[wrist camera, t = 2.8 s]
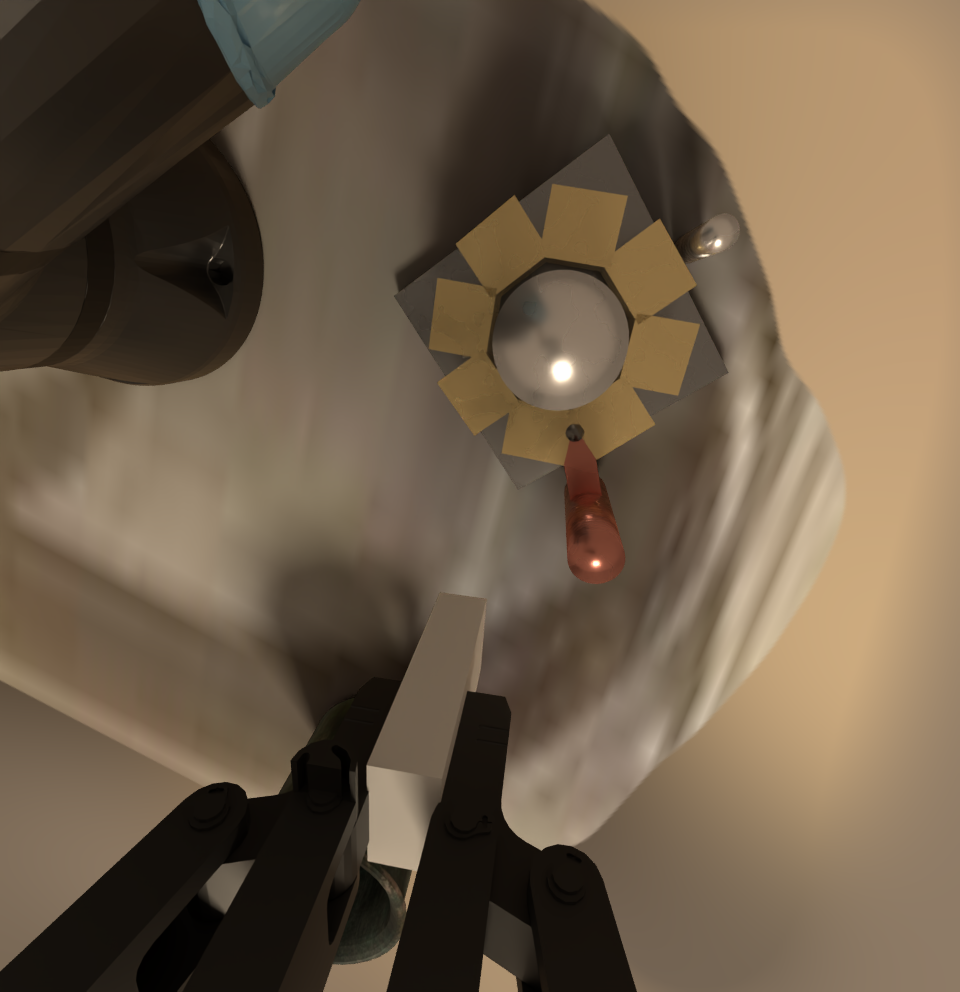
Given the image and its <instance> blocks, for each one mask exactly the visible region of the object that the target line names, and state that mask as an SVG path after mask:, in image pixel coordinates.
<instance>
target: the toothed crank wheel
mask: <svg viewBox="0 0 960 992" xmlns="http://www.w3.org/2000/svg"><path fill="white" fill-rule="evenodd" d="M627 198H628V196H625V195H619V194H613V193H607V192H600V191H594V190H588V189H582V188H575V187H569V186H563V185H557V184H552V188H551V194H550V199H549V204H548V210H547V215H546V220H545V225H544V231H543V236H542V239H541V237H540V236H539V234H538V232H537V231H536V229H535V228H534V226H533V224H532V223H531V221H530V219H529V218H528V216H527V215H526V213H525V211H524V210H523V208H522V206H521V205H520V203H519V201H518V200H517V198H516V197H515V195H514V196H513V197H511V198H510V199H509V200H508V201H507V202H505V203H504V204H503V205H502V206H501V207H499V208H498V209H497V210H496V211H495V212H493V213H492V214H491V215H490V216H489V217H487V218H486V219H485V220H484V221H483V222H481V223H480V224H479V225H478V226H477V227H475V228H474V229H473V230H472V231H471V232H469V233H468V234H467V235H466V236H465V237H463V238H462V239H461V240H460V241H459V242H457V243H456V246H457V247H458V249H459V250H460V252H461V253H462V255H463V256H464V258H465V259H466V261H467V262H468V264H469V265H470V267H471V269H472V270H473V272H474V273H475V275H476V276H477V278H478V279H479V281H480V282H481V284H482V285H483V286H481V285H475V284H469V283H464V282H458V281H452V280H447V279H441V278H437V286H436V294H435V302H434V310H433V318H432V326H431V334H430V342H429V349H431V350H437V351H442V352H447V353H453V354H458V355H463V356H469V357H471V358H470V359H468V360H467V361H466V362H464V363H463V364H462V365H460V366H459V367H458V368H456V369H455V370H454V371H452V372H451V373H449V374H448V375H447V376H445V377H444V378H443V379H441V380H440V381H439V382H437V383H438V385H439V386H440V388H441V389H442V390H443V392H444V393H445V395H446V396H447V397H448V399H449V400H450V402H451V403H452V405H453V406H454V407H455V409H456V410H457V412H458V413H459V414H460V416H461V417H462V419H463V420H464V422H465V423H466V424H467V426H468V427H469V429H470V430H471V431H472V433H473V434H474V436H475V435H476V434H478V433H479V432H481V431H482V430H484V429H485V428H486V427H488V426H489V425H491V424H492V423H494V422H495V421H497V420H498V419H500V418H501V417H503V416H504V415H506V414H507V413H509V416H508V421H507V427H506V432H505V437H504V443H503V448H502V453H503V454H508V455H513V456H518V457H523V458H528V459H533V460H538V461H543V462H548V463H553V464H558V465H563V466H564V468H565V473H566V479H567V484H566V486H565V490H564V497H565V518H566V538H567V559H568V565H569V568H570V570H571V571H572V573H573V574H574V575H575V576H576V577H577V578H579V579H580V580H582V581H585V582H588V583H593V584H599V583H605V582H608V581H610V580H612V579H614V578H615V577H616V576H617V575H618V574H619V573H620V572H621V571H622V569H623V567H624V564H625V553H624V549H623V545H622V542H621V539H620V535H619V532H618V528H617V525H616V521H615V518H614V514H613V511H612V507H611V504H610V500H609V497H608V493H607V490H606V486H605V484H604V482H603V481H602V479H601V478H600V477H599V475H598V469H597V462H596V460H597V459H599V458H600V457H602V456H604V455H605V454H607V453H609V452H610V451H612V450H614V449H615V448H617V447H619V446H620V445H622V444H624V443H625V442H627V441H629V440H630V439H632V438H634V437H635V436H637V435H639V434H640V433H642V432H644V431H645V430H647V429H649V428H650V427H652V426H654V425H655V423H654V422H653V420H652V418H651V417H650V415H649V414H648V412H647V410H646V409H645V407H644V405H643V404H642V402H641V400H640V399H639V397H638V396H637V394H636V392H635V391H634V389H633V387H634V388H640V389H645V390H650V391H656V392H661V393H666V394H672V395H677V396H678V394H679V391H680V388H681V385H682V381H683V378H684V375H685V372H686V368H687V365H688V362H689V359H690V356H691V352H692V349H693V346H694V343H695V339H696V336H697V333H698V330H699V326H700V324H696V323H690V322H685V321H679V320H673V319H668V318H662V317H656V316H652V315H654V314H655V313H657V312H658V311H660V310H661V309H663V308H664V307H666V306H667V305H668V304H670V303H671V302H673V301H674V300H676V299H677V298H679V297H680V296H682V295H683V294H685V293H686V292H688V291H689V290H691V289H692V288H694V287H695V286H697V285H696V283H695V281H694V279H693V278H692V276H691V274H690V272H689V270H688V269H687V267H686V265H685V263H684V261H683V259H682V258H681V256H680V254H679V252H678V250H677V249H676V247H675V245H674V243H673V241H672V240H671V238H670V236H669V234H668V232H667V231H666V229H665V227H664V225H663V223H662V222H661V220H660V219H658V220H657V221H656V222H654V223H653V224H652V225H650V226H649V227H648V228H646V229H645V230H644V231H642V232H641V233H639V234H638V235H637V236H635V237H634V238H633V239H631V240H630V241H629V242H627V243H626V244H625V245H623V246H622V247H620V248H619V249H618V250H616V251H615V248H616V244H617V240H618V235H619V231H620V227H621V223H622V219H623V214H624V210H625V206H626V202H627ZM546 262H547V263H553V264H559V265H565V266H570V267H576V268H582V269H588V270H594V271H600V273H601V274H602V276H603V278H604V279H605V281H606V283H607V285H608V286H609V288H610V290H611V291H612V292H613V293H614V294H615V296H616V297H617V299H618V300H619V302H620V303H621V305H622V308H623V310H624V312H625V315H626V316H627V318H628V320H627V323H628V329H629V344H628V351H627V355H626V359H625V362H624V364H623V367H622V369H621V371H620V373H619V375H618V376H617V378H616V379H615V381H614V382H613V384H612V385H611V386H610V387H609V388H608V389H607V390H606V391H605V392H604V393H603V394H602V395H600V396H599V397H598V398H596V399H595V400H593V401H591V402H589V403H587V404H586V405H583V406H580V407H578V408H574V409H569V410H561V411H555V410H546V409H541V408H538V407H535V406H532V405H530V404H528V403H526V402H524V401H523V400H521V399H520V398H518V397H517V396H516V395H515V394H514V393H513V392H512V391H511V390H510V389H509V388H508V387H507V386H506V384H505V383H504V381H503V380H502V378H501V376H500V374H499V372H498V370H497V367H496V364H495V360H494V356H493V350H492V349H493V348H492V341H493V331H494V326H495V323H496V319H497V317H498V313H499V308H500V302H501V296H502V295H504V294H505V293H506V292H508V291H509V290H510V289H512V288H513V287H514V286H516V285H517V284H518V283H519V282H521V281H522V280H523V279H525V278H526V277H527V276H529V275H530V274H531V273H533V272H534V271H535V270H536V269H538V268H539V267H540V266H542V265H543V264H544V263H546Z"/></svg>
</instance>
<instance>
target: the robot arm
mask: <svg viewBox="0 0 960 992" xmlns="http://www.w3.org/2000/svg"><path fill="white" fill-rule="evenodd" d="M359 2H360V0H0V371H9V370H16V369H24V368H34V367H43V366H48V367H53V368H58V369H63V370H68V371H73V372H78V373H83V374H88V375H93V376H99V377H102V378H105V379H109V380H112V381H116V382H120V383H124V384H130V385H140V386H155V385H165V384H170V383H176V382H181V381H187V380H192V379H195V378H199V377H202V376H204V375H207V374H209V373H211V372H213V371H214V370H216V369H218V368H219V367H221V366H222V365H223V364H225V363H226V362H227V361H228V360H229V359H230V358H232V356H233V355H234V354H235V353H236V352H237V351H238V350H239V348H240V347H241V346H242V344H243V343H244V341H245V340H246V338H247V337H248V335H249V333H250V331H251V329H252V327H253V324H254V322H255V319H256V316H257V313H258V310H259V306H260V301H261V296H262V288H263V254H262V246H261V240H260V235H259V230H258V226H257V223H256V219H255V216H254V213H253V210H252V207H251V205H250V202H249V200H248V197H247V195H246V193H245V191H244V189H243V187H242V185H241V183H240V181H239V179H238V177H237V176H236V174H235V172H234V171H233V169H232V168H231V166H230V165H229V163H228V162H227V160H226V159H225V158H224V156H223V155H222V154H221V152H220V151H219V150H218V149H217V148H216V146H215V145H214V144H213V143H212V142H211V141H210V140H209V139H210V138H211V137H212V136H214V135H215V134H216V133H217V132H219V131H220V130H221V129H223V128H224V127H225V126H227V125H228V124H229V123H231V122H232V121H233V120H235V119H236V118H237V117H239V116H240V115H241V114H243V113H244V112H245V111H247V110H248V109H249V108H251V107H252V106H253V105H256V106H257V107H258V108H260V109H261V108H262V107H264V106H265V105H267V104H268V103H269V102H270V101H271V100H272V99H273V98H274V97H275V90H276V86H277V85H278V84H279V83H280V82H281V81H282V80H283V79H284V78H285V77H286V76H287V75H288V74H290V73H291V72H292V71H293V70H294V69H295V68H296V67H297V66H298V65H299V64H300V63H301V62H302V61H303V60H304V59H306V58H307V57H308V56H309V55H310V54H311V53H312V52H313V51H314V50H315V49H316V48H317V47H318V46H319V45H321V44H322V43H323V42H324V41H325V40H326V39H327V38H328V37H329V36H331V35H332V34H333V33H334V32H335V31H336V30H337V29H339V28H340V27H341V26H342V25H343V24H344V23H345V22H346V21H347V20H348V19H349V18H350V16H351V15H352V14H353V12H354V11H355V9H356V7H357V6H358V4H359ZM486 601H487V599H484V598H476V597H469V596H462V595H455V594H448V593H441V592H440V593H439V596H438V598H437V600H436V603H435V605H434V607H433V610H432V612H431V615H430V617H429V619H428V622H427V624H426V626H425V629H424V631H423V633H422V636H421V638H420V640H419V643H418V645H417V648H416V650H415V652H414V655H413V657H412V659H411V662H410V664H409V666H408V669H407V671H406V673H405V676H404V678H403V681H402V682H401V681H395V680H389V679H382V678H376V677H373V678H372V679H371V680H370V681H369V682H368V683H366V684H365V685H364V686H363V687H362V688H360V689H359V691H358V693H357V695H356V697H355V698H354V700H353V702H352V704H351V708H349V710H348V712H347V714H346V715H345V717H344V721H342V723H341V725H340V727H339V729H338V731H337V732H336V734H335V736H334V738H333V740H325V739H324V740H320V741H317V742H313V743H310V744H309V745H307V746H306V747H304V748H302V749H301V750H299V751H298V752H297V754H296V755H295V756H294V757H293V758H292V759H291V771H292V784H293V790H291V791H289V792H286V793H283V794H278V795H273V796H265V797H257V798H249V799H247V796H246V792H245V791H244V790H243V789H242V788H241V787H240V786H239V785H237V784H232V783H228V782H222V783H214V784H211V785H208V786H206V787H203V788H201V789H198V790H197V791H196V792H194V793H193V794H191V795H190V796H189V797H187V798H186V799H185V800H184V801H183V802H181V803H180V804H179V805H178V806H177V807H176V808H175V809H174V810H173V811H172V812H171V813H170V814H169V815H167V816H166V817H165V818H164V819H163V820H162V821H161V822H160V823H159V824H158V825H157V826H156V827H155V828H154V829H153V830H151V831H150V832H149V833H148V834H147V835H146V836H145V837H144V838H143V839H142V840H141V841H140V842H139V843H138V844H136V845H135V846H134V847H133V848H132V849H131V850H130V851H129V852H128V853H127V854H126V855H125V856H124V857H122V858H121V859H120V861H118V862H117V863H116V864H115V865H114V866H113V867H112V868H111V869H110V870H109V871H107V872H106V873H105V874H104V875H103V876H102V877H101V878H100V879H99V880H98V881H97V882H96V883H95V884H94V885H93V886H91V887H90V888H89V889H88V890H87V891H86V892H85V893H84V894H83V895H82V896H81V897H80V898H78V899H77V900H76V901H75V902H74V903H73V904H72V905H71V906H70V907H69V908H68V909H67V910H66V911H65V912H63V914H62V915H60V916H59V917H58V918H57V919H56V920H55V921H54V922H53V923H52V924H51V925H50V926H49V927H47V928H46V929H45V930H44V931H43V932H42V933H41V934H40V935H39V936H38V937H37V938H36V939H35V940H33V941H32V942H31V943H30V944H29V945H28V946H27V947H26V948H25V949H24V950H23V951H22V952H21V953H20V954H18V956H16V957H15V958H14V959H13V960H12V961H11V962H10V963H9V964H8V965H7V966H6V967H5V968H3V969H2V970H1V971H0V992H323V990H324V987H325V984H326V981H327V978H328V975H329V972H330V969H331V967H332V964H333V961H334V958H335V955H336V952H337V949H338V946H339V944H340V941H341V938H342V935H343V932H344V929H345V926H346V923H347V920H348V917H349V915H350V912H351V909H352V906H353V903H354V900H355V897H356V894H357V891H358V886H359V879H360V870H359V868H360V865H361V863H362V860H363V857H364V854H365V851H366V849H367V855H368V861H370V862H375V863H379V864H384V865H389V866H394V867H399V868H404V869H409V870H414V871H417V874H416V878H415V882H414V886H413V890H412V894H411V897H410V901H409V905H408V909H407V913H406V917H405V921H404V925H403V929H402V933H401V937H400V941H399V945H398V949H397V952H396V956H395V960H394V964H393V968H392V973H391V976H390V981H389V984H388V988H387V992H479V986H480V977H481V969H482V960H483V954H484V955H486V956H487V957H488V958H490V959H491V960H493V961H494V962H496V963H497V964H499V965H500V966H502V967H503V968H505V969H506V970H508V971H509V972H510V973H512V974H513V975H515V976H516V979H517V987H518V992H637V991H636V987H635V984H634V981H633V978H632V974H631V971H630V968H629V964H628V961H627V958H626V954H625V951H624V948H623V944H622V941H621V938H620V935H619V931H618V928H617V924H616V921H615V918H614V915H613V911H612V908H611V905H610V901H609V898H608V895H607V892H606V888H605V885H604V881H603V879H602V877H601V875H600V872H599V870H598V869H597V866H596V865H595V864H594V863H593V861H592V860H591V859H590V858H589V857H588V856H587V855H586V854H585V853H583V852H581V851H579V850H578V849H576V848H574V847H572V846H566V845H560V844H557V845H553V846H549V847H546V848H544V849H543V850H542V851H541V850H539V849H538V848H536V847H534V846H532V845H530V844H529V843H527V842H525V841H524V840H522V839H521V838H520V837H518V836H517V835H516V834H515V833H514V832H513V831H512V830H511V829H510V828H509V826H508V824H507V822H506V821H505V819H504V816H503V812H502V809H501V798H502V789H503V780H504V772H505V763H506V754H507V746H508V737H509V729H510V720H511V711H510V708H509V706H508V703H507V701H506V698H505V697H503V696H496V695H490V694H484V693H478V692H476V689H477V684H478V679H479V675H480V670H481V659H482V647H483V636H484V624H485V613H486Z"/></svg>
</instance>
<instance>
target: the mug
mask: <svg viewBox="0 0 960 992" xmlns="http://www.w3.org/2000/svg"><path fill="white" fill-rule="evenodd" d="M353 700H354V698H352V699H349V700H346V701H344V702H341V703H339V704H337V705H336V706H334V707H332V708H331V709H330V710H329V711H328V712H327V713H326V714H325V715H324V716H323V718H322V719H321V721H320V722H319V724H318V726H317V728H316V729H315V731H314V733H313V735H312V736H311V738H310V740H309V742H308V743H307V745H309V744H310V743H313V742H317V741H320V740H324V739H325V740H333V738H334V736H335V734H336V732H337V731H338V729H339V727H340V725H341V723H342V721H344V717H345V715H346V714H347V712H348V710H349V708H351V704H352V702H353ZM307 745H306V746H307ZM291 790H293V784H292V771H291V773H290V775H289V776H288V778H287V780H286V782H285V783H284V785H283V787H282V789H281V790H280V792H279V794H283V793H286V792H289V791H291ZM359 870H360V879H359V886H358V891H357V894H356V897H355V900H354V903H353V906H352V909H351V912H350V915H349V917H348V920H347V923H346V926H345V929H344V932H343V935H342V938H341V941H340V944H339V946H338V949H337V952H336V955H335V958H334V961H333V964H341V965H343V964H355V963H360V962H365V961H369V960H372V959H375V958H378V957H380V956H381V955H383V954H385V953H387V952H388V951H389V950H390V949H392V948H393V947H394V946H395V945H396V943H397V942H398V941H399V939H400V937H401V933H402V929H403V925H404V921H405V917H406V904H405V901H404V900H405V896H406V892H407V888H408V883H409V880H410V876H411V872H412V870H409V869H404V868H399V867H394V866H389V865H384V864H379V863H375V862H370V861H368V855H367V849H366V851H365V854H364V857H363V860H362V863H361V865H360V868H359Z"/></svg>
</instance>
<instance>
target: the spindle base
mask: <svg viewBox="0 0 960 992" xmlns="http://www.w3.org/2000/svg"><path fill="white" fill-rule="evenodd" d="M552 184H557V185H563V186H569V187H575V188H582V189H588V190H594V191H600V192H607V193H613V194H619V195H625V196H628V198H627V202H626V206H625V210H624V214H623V219H622V223H621V227H620V231H619V235H618V240H617V244H616V248H615V251H616V250H618V249H619V248H620V247H622V246H623V245H625V244H626V243H627V242H629V241H630V240H631V239H633V238H634V237H635V236H637V235H638V234H639V233H641V232H642V231H644V230H645V229H646V228H648V227H649V226H650V225H652V224H653V223H654V222H653V220H652V218H651V216H650V214H649V212H648V210H647V208H646V206H645V204H644V202H643V200H642V198H641V196H640V194H639V192H638V190H637V188H636V186H635V184H634V182H633V180H632V178H631V176H630V174H629V172H628V170H627V168H626V166H625V164H624V162H623V160H622V158H621V156H620V154H619V152H618V150H617V148H616V146H615V144H614V142H613V140H612V138H611V136H610V134H608V135H607V136H605V137H604V138H603V139H601V140H600V141H599V142H597V143H596V144H595V145H593V146H592V147H591V148H589V149H588V150H587V151H585V152H584V153H583V154H581V155H580V156H579V157H578V158H576V159H575V160H574V161H572V162H571V163H570V164H568V165H567V166H566V167H564V168H563V169H562V170H560V171H559V172H558V173H556V174H555V175H554V176H552V177H551V178H550V179H548V180H547V181H546V182H544V183H543V184H542V185H540V186H539V187H538V188H536V189H535V190H534V191H532V192H531V193H530V194H529V195H527V196H526V197H525V198H523V199H522V200H521V201H519V203H520V205H521V206H522V208H523V210H524V211H525V213H526V215H527V216H528V218H529V219H530V221H531V223H532V224H533V226H534V228H535V229H536V231H537V232H538V234H539V236H540V237H541V239H542V236H543V231H544V225H545V220H546V215H547V210H548V204H549V199H550V194H551V188H552ZM739 233H740V226H739V223H738V221H737V219H736V218H735V217H734V216H732V215H730V214H726V213H725V214H719V215H716V216H715V217H713V218H711V219H710V220H708V221H706V222H705V223H703V224H701V225H700V226H698V227H696V228H695V229H693V230H691V231H690V232H688V233H686V234H685V235H683V236H681V237H680V238H679V239H678V240H677V242H676V244H675V247H676V249H677V250H678V252H679V254H680V256H681V258H682V259H683V261H684V263H685V264H688V263H692V262H695V261H697V260H700V259H703V258H706V257H708V256H711V255H714V254H717V253H719V252H722V251H725V250H727V249H729V248H730V247H732V246H733V245H734V244H735V242H736V241H737V239H738V237H739ZM437 278H441V279H447V280H452V281H458V282H464V283H469V284H475V285H481V286H483V285H482V284H481V282H480V281H479V279H478V278H477V276H476V275H475V273H474V272H473V270H472V269H471V267H470V265H469V264H468V262H467V261H466V259H465V258H464V256H463V255H462V253H461V252H460V250H459V249H458V248H457V249H456V250H454V251H453V252H452V253H450V254H449V255H448V256H446V257H445V258H444V259H442V260H441V261H440V262H438V263H437V264H436V265H435V266H433V267H432V268H431V269H429V270H428V271H427V272H425V273H424V274H423V275H421V276H420V277H419V278H417V279H416V280H415V281H413V282H412V283H411V284H409V285H408V286H407V287H405V288H404V289H403V290H401V291H400V292H399V293H397V294H396V295H395V296H394V297H395V298H396V300H397V301H398V303H399V305H400V306H401V308H402V309H403V311H404V312H405V314H406V315H407V317H408V319H409V320H410V322H411V323H412V325H413V326H414V328H415V330H416V331H417V333H418V334H419V336H420V337H421V339H422V340H423V342H424V344H425V345H426V347H427V348H428V350H429V351H430V353H431V355H432V356H433V358H434V359H435V361H436V362H437V364H438V365H439V367H440V369H441V370H442V372H443V373H444V375H445V376H447V375H448V374H449V373H451V372H452V371H454V370H455V369H456V368H458V367H459V366H460V365H462V364H463V363H464V362H466V361H467V360H468V359H470V358H471V357H469V356H463V355H458V354H453V353H447V352H442V351H437V350H431V349H429V342H430V334H431V326H432V318H433V310H434V302H435V294H436V286H437ZM652 316H656V317H662V318H668V319H673V320H679V321H685V322H690V323H696V324H700V326H699V330H698V333H697V336H696V339H695V343H694V346H693V349H692V352H691V356H690V359H689V362H688V365H687V368H686V372H685V375H684V378H683V381H682V385H681V388H680V391H679V394H678V396H677V395H672V394H666V393H661V392H656V391H650V390H645V389H640V388H634V387H633V389H634V391H635V392H636V394H637V396H638V397H639V399H640V400H641V402H642V404H643V405H644V407H645V409H646V410H647V412H648V414H649V415H650V416H652V415H654V414H655V413H657V412H659V411H661V410H663V409H664V408H666V407H668V406H670V405H672V404H673V403H675V402H677V401H679V400H681V399H682V398H684V397H686V396H688V395H690V394H691V393H693V392H695V391H697V390H698V389H700V388H702V387H704V386H706V385H707V384H709V383H711V382H713V381H715V380H716V379H718V378H720V377H722V376H724V375H725V374H727V373H728V371H727V369H726V367H725V365H724V363H723V361H722V359H721V357H720V355H719V353H718V351H717V349H716V347H715V345H714V343H713V341H712V339H711V337H710V335H709V333H708V330H707V328H706V326H705V324H704V322H703V320H702V318H701V316H700V314H699V312H698V310H697V308H696V306H695V304H694V302H693V300H692V298H691V296H690V294H689V292H686V293H685V294H683V295H682V296H680V297H679V298H677V299H676V300H674V301H673V302H671V303H670V304H668V305H667V306H666V307H664V308H663V309H661V310H660V311H658V312H657V313H655V314H654V315H652ZM627 320H628V318H627V316H626V315H625V312H624V310H623V308H622V305H621V303H620V302H619V300H618V299H617V297H616V296H615V294H614V293H613V292H612V291H611V290H610V288H609V286H608V285H607V283H606V281H605V279H604V278H603V276H602V274H601V273H600V271H594V270H588V269H582V268H576V267H570V266H565V265H559V264H553V263H547V262H546V263H544V264H543V265H542V266H540V267H539V268H538V269H536V270H535V271H534V272H533V273H531V274H530V275H529V276H527V277H526V278H525V279H523V280H522V281H521V282H519V283H518V284H517V285H516V286H514V287H513V288H512V289H510V290H509V291H508V292H506V293H505V294H504V295H502V296H501V302H500V308H499V313H498V317H497V319H496V323H495V326H494V331H493V341H492V348H493V349H492V350H493V356H494V360H495V364H496V367H497V370H498V372H499V374H500V376H501V378H502V380H503V381H504V383H505V384H506V386H507V387H508V388H509V389H510V390H511V391H512V392H513V393H514V394H515V395H516V396H517V397H518V398H520V399H521V400H523V401H524V402H526V403H528V404H530V405H532V406H535V407H538V408H541V409H546V410H555V411H561V410H569V409H574V408H578V407H580V406H583V405H586V404H587V403H589V402H591V401H593V400H595V399H596V398H598V397H599V396H600V395H602V394H603V393H604V392H605V391H606V390H607V389H608V388H609V387H610V386H611V385H612V384H613V382H614V381H615V379H616V378H617V376H618V375H619V373H620V371H621V369H622V367H623V364H624V362H625V359H626V355H627V351H628V344H629V329H628V323H627ZM508 416H509V413H507V414H506V415H504V416H503V417H501V418H500V419H498V420H497V421H495V422H494V423H492V424H491V425H489V426H488V427H486V428H485V429H484V430H482V431H481V433H482V434H483V436H484V437H485V439H486V440H487V442H488V444H489V445H490V447H491V448H492V450H493V451H494V453H495V455H496V456H497V458H498V459H499V461H500V462H501V464H502V465H503V467H504V469H505V470H506V472H507V473H508V475H509V476H510V478H511V480H512V481H513V483H514V484H515V486H516V487H517V489H518V490H519V489H521V488H522V487H524V486H526V485H528V484H530V483H531V482H533V481H535V480H537V479H538V478H540V477H542V476H544V475H546V474H547V473H549V472H551V471H553V470H555V469H556V468H558V467H560V466H562V465H558V464H553V463H548V462H543V461H538V460H533V459H528V458H523V457H518V456H513V455H508V454H503V453H502V448H503V443H504V437H505V432H506V427H507V421H508Z"/></svg>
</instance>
